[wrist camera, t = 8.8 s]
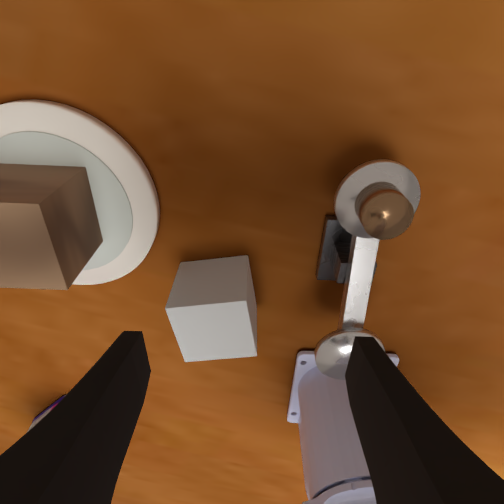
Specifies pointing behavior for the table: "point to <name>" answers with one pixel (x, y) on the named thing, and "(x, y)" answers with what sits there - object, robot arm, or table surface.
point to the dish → (89, 177)
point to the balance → (360, 248)
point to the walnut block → (45, 225)
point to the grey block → (214, 309)
